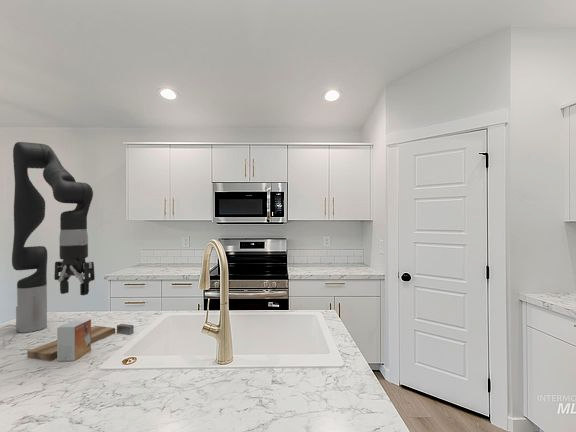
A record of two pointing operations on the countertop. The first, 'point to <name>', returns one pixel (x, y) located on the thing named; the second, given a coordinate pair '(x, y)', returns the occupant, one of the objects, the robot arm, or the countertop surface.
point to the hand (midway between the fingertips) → (74, 294)
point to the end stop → (125, 329)
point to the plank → (50, 349)
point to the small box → (73, 339)
